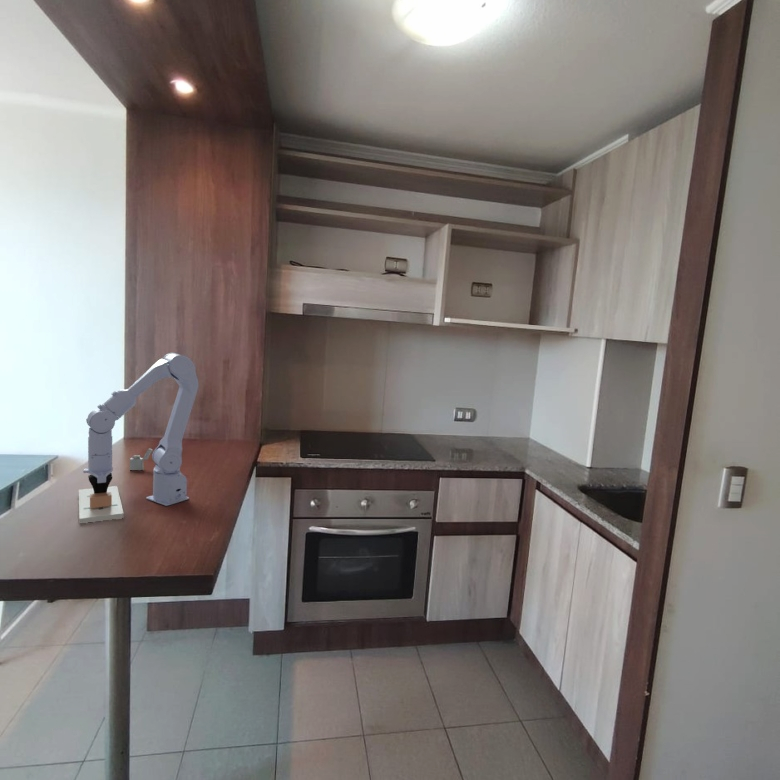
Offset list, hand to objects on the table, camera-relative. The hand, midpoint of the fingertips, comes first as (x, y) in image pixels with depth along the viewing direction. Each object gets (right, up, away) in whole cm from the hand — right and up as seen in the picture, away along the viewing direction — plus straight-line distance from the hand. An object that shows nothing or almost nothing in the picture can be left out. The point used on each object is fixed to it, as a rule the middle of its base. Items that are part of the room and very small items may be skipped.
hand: (100, 500), depth 136 cm
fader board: (-1, -2, +2) cm, 3 cm away
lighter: (-7, +2, +36) cm, 37 cm away
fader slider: (+2, -1, -2) cm, 3 cm away
